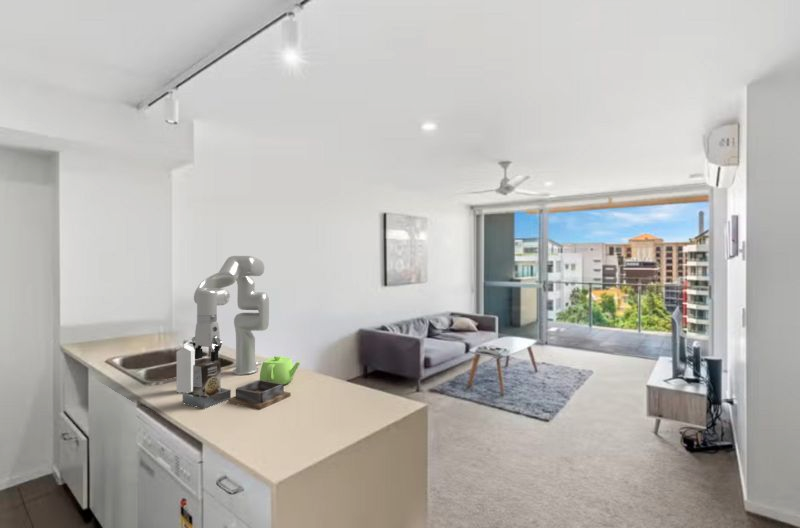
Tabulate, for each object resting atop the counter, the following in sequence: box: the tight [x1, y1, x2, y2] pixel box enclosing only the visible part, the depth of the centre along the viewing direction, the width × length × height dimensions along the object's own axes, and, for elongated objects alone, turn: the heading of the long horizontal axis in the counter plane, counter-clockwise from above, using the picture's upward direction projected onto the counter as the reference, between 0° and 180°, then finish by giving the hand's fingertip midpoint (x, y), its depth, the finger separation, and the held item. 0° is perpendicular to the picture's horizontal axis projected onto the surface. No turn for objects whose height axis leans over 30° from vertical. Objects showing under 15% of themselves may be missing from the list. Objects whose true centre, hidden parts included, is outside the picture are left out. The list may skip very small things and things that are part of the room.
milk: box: [176, 341, 196, 393], centre depth 184 cm, size 6×6×22 cm
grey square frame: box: [182, 387, 232, 410], centre depth 171 cm, size 13×13×4 cm
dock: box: [227, 379, 292, 410], centre depth 174 cm, size 18×18×6 cm
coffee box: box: [193, 360, 222, 398], centre depth 171 cm, size 9×6×16 cm
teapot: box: [259, 355, 301, 385], centre depth 197 cm, size 18×20×13 cm
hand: (206, 359), depth 170 cm, fingers open, 9 cm apart
